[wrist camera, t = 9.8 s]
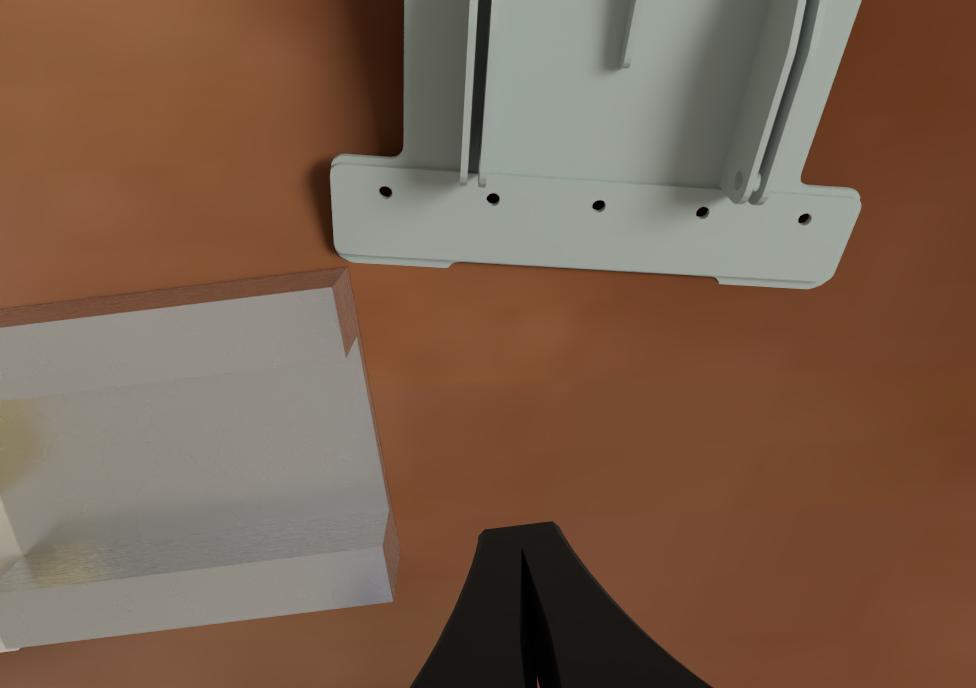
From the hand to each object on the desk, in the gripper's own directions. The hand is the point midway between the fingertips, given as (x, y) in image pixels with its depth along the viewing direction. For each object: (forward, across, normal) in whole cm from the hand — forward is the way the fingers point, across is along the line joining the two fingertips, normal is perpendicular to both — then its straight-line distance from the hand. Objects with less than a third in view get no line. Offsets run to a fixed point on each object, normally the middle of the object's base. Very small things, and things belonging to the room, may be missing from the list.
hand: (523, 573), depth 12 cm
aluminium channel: (+10, +10, +1) cm, 14 cm away
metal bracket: (+11, -4, -9) cm, 15 cm away
